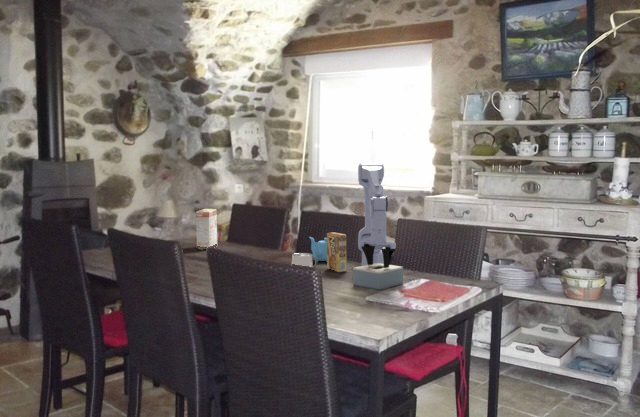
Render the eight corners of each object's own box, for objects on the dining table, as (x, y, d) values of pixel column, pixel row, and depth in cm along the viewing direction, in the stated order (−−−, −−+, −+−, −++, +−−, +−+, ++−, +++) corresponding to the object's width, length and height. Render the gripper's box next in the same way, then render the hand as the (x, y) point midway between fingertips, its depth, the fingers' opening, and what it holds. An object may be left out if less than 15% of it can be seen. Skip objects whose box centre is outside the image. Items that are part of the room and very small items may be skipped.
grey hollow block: (377, 279, 235) (377, 262, 235) (402, 284, 227) (402, 266, 226) (353, 285, 225) (353, 267, 225) (378, 290, 217) (379, 272, 216)
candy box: (347, 271, 252) (347, 234, 250) (338, 272, 249) (338, 235, 248) (334, 268, 259) (334, 232, 258) (326, 269, 257) (326, 232, 255)
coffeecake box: (204, 245, 322) (203, 208, 320) (217, 245, 321) (217, 208, 319) (196, 250, 307) (195, 211, 305) (209, 250, 306) (209, 211, 304)
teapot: (340, 257, 286) (340, 235, 285) (346, 262, 271) (346, 239, 270) (309, 258, 284) (309, 236, 283) (313, 263, 269) (313, 240, 268)
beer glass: (291, 297, 207) (291, 253, 206) (312, 296, 208) (311, 252, 206) (292, 302, 200) (291, 256, 199) (313, 301, 201) (313, 256, 200)
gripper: (356, 228, 227) (356, 265, 228) (387, 232, 216) (387, 270, 218) (368, 227, 232) (368, 262, 233) (399, 230, 222) (399, 267, 223)
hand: (378, 266), depth 226 cm, fingers open, 7 cm apart
